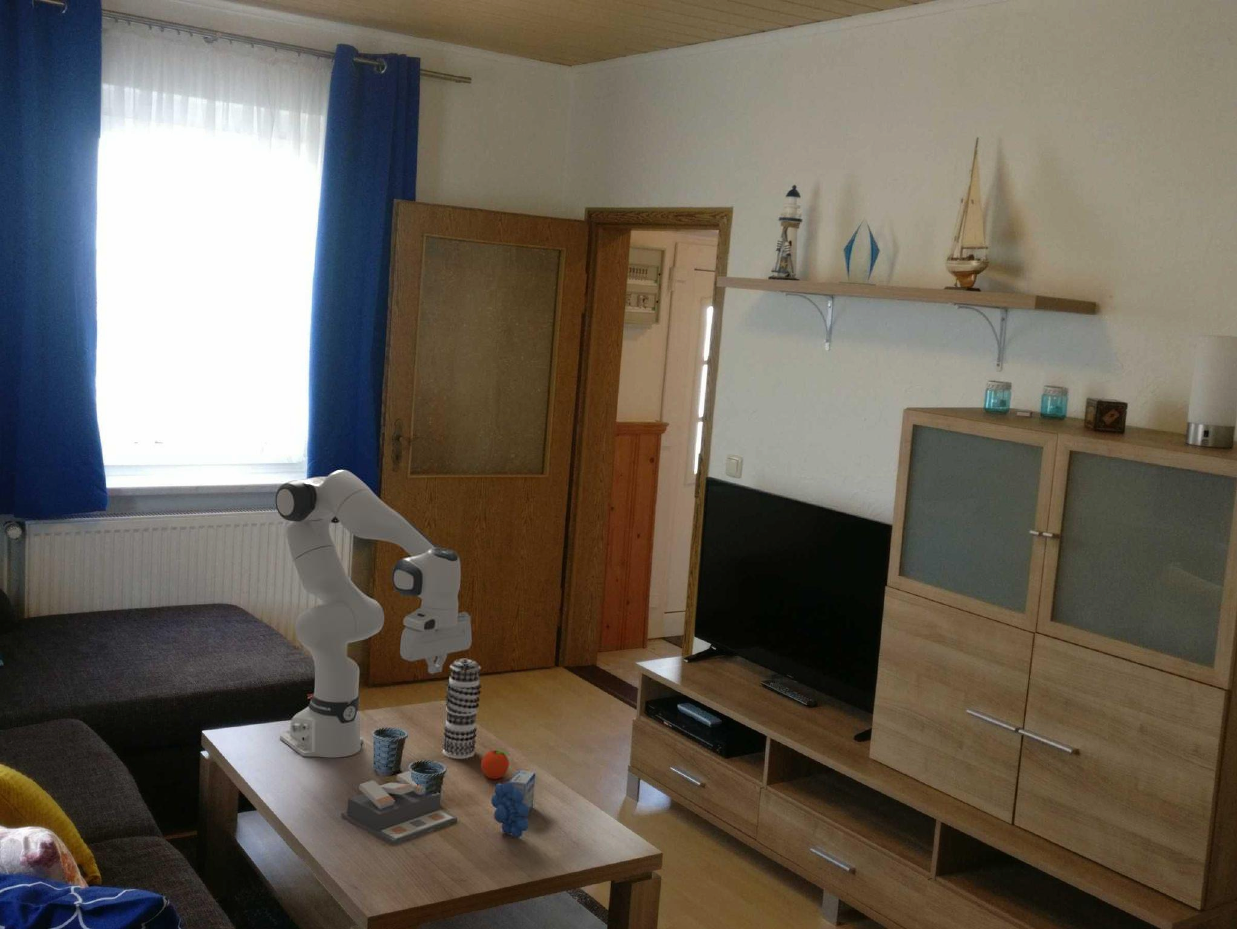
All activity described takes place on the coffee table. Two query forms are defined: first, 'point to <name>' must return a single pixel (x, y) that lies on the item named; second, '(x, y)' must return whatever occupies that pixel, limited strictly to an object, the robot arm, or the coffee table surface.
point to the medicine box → (525, 786)
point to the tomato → (495, 764)
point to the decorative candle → (461, 709)
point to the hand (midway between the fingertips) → (434, 672)
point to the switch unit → (398, 816)
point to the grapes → (510, 809)
